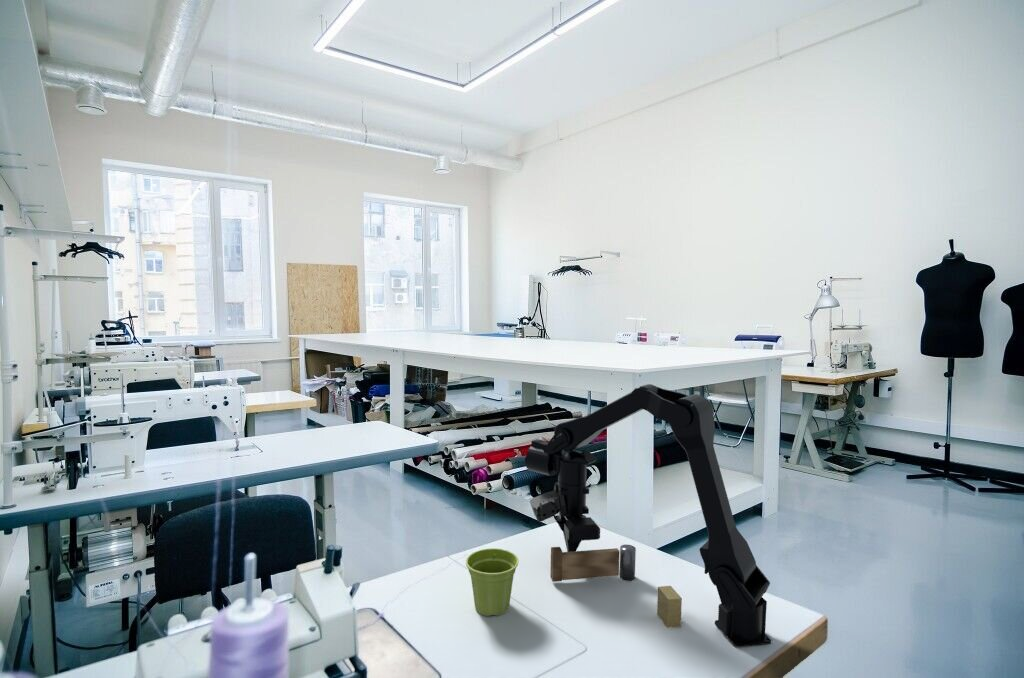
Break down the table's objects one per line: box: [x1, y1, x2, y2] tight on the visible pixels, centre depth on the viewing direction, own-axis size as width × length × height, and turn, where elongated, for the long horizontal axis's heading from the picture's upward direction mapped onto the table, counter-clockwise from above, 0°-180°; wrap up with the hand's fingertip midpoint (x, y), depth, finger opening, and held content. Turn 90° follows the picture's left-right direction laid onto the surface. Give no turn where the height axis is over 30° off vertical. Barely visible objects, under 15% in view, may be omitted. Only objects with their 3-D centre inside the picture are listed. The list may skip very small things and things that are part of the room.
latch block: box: [656, 585, 683, 629], centre depth 91 cm, size 2×4×5 cm, turn 10°
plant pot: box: [465, 547, 520, 617], centre depth 94 cm, size 9×9×9 cm
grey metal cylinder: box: [619, 544, 637, 582], centre depth 105 cm, size 3×3×6 cm
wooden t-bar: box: [549, 546, 620, 583], centre depth 104 cm, size 14×2×6 cm, turn 100°
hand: (570, 554), depth 109 cm, fingers closed
